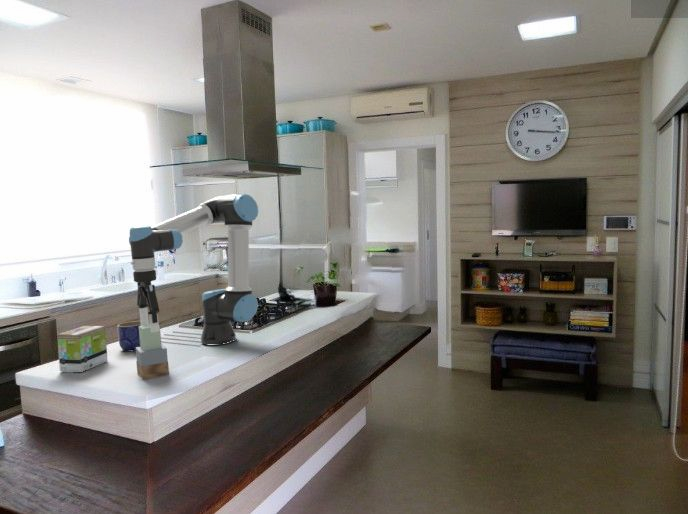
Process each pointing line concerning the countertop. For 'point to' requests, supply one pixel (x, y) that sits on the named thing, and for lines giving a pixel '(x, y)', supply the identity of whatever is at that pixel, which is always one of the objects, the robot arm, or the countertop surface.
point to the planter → (129, 335)
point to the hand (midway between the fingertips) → (149, 328)
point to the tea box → (82, 348)
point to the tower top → (151, 356)
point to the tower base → (152, 370)
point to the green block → (149, 338)
